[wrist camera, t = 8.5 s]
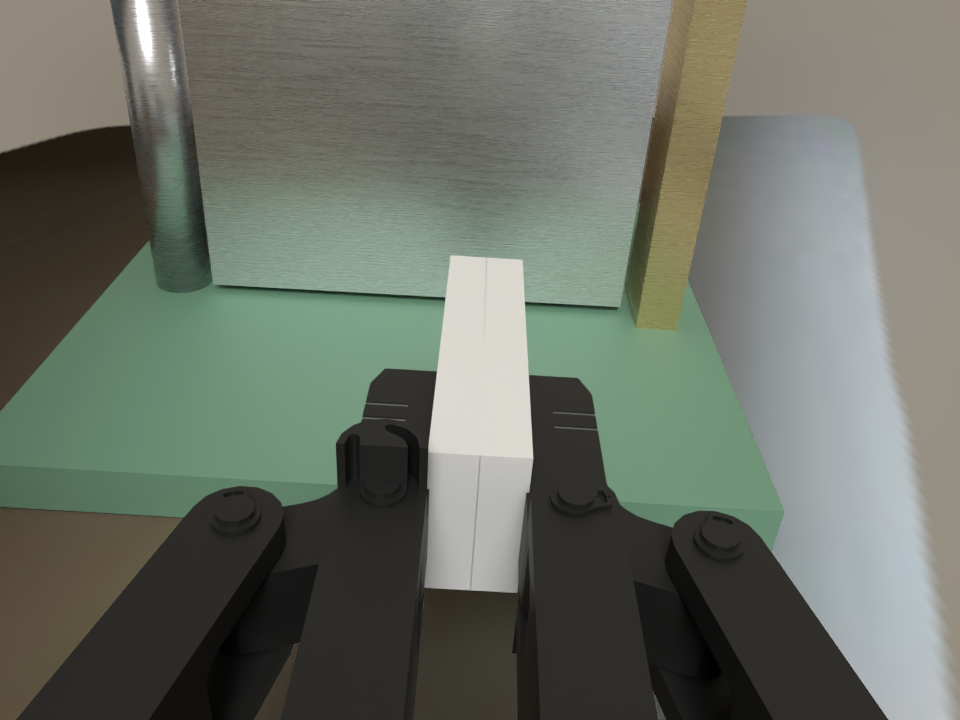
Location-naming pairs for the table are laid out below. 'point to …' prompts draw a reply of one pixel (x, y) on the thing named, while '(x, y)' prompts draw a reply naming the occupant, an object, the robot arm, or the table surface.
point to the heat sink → (666, 189)
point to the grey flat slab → (422, 139)
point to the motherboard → (346, 399)
